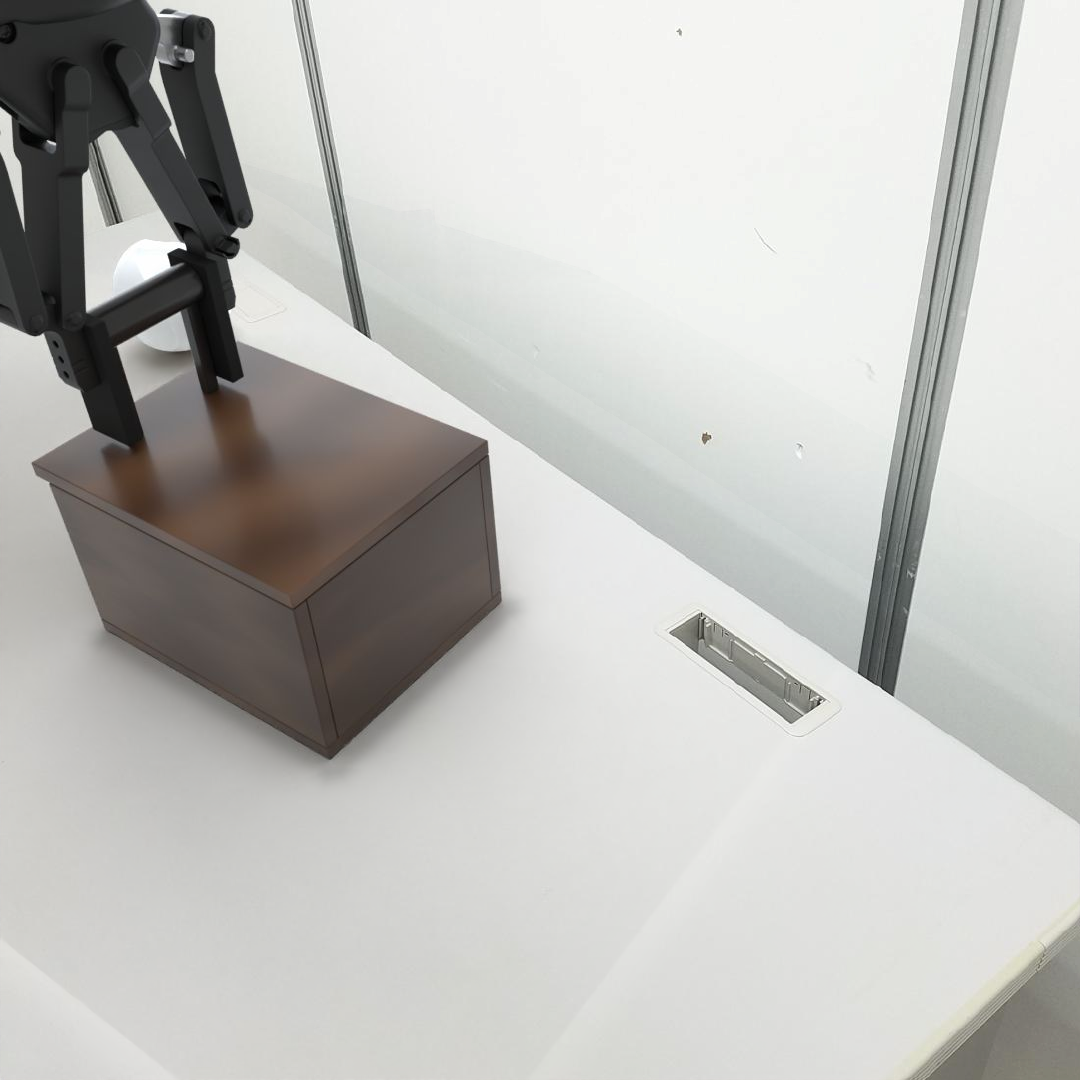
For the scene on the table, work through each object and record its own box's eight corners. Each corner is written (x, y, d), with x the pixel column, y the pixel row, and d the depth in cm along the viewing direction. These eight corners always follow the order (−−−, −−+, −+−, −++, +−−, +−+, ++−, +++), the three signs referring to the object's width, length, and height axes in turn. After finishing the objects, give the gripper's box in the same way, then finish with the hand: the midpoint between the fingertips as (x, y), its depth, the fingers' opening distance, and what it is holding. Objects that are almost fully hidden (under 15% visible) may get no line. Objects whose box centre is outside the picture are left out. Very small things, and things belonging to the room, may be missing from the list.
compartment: (104, 628, 67) (47, 482, 60) (285, 499, 75) (252, 358, 69) (329, 760, 60) (293, 610, 53) (502, 600, 68) (489, 454, 61)
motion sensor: (234, 367, 86) (210, 265, 81) (123, 378, 86) (91, 276, 81) (242, 311, 92) (219, 212, 87) (137, 320, 92) (108, 222, 87)
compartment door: (35, 475, 61) (-20, 335, 56) (241, 353, 69) (209, 220, 64) (293, 609, 53) (257, 460, 48) (489, 453, 61) (476, 312, 56)
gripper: (-154, -32, 40) (63, 527, 55) (273, -149, 52) (354, 341, 67) (-275, -64, 43) (-39, 472, 59) (152, -167, 55) (255, 304, 70)
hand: (170, 401), depth 63 cm, fingers closed on compartment door, 6 cm apart
